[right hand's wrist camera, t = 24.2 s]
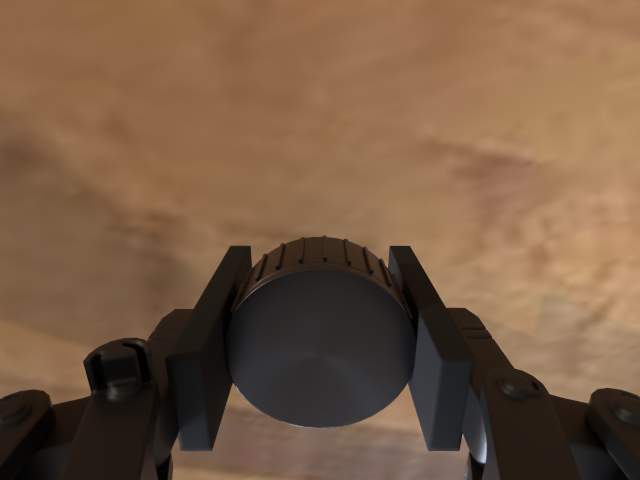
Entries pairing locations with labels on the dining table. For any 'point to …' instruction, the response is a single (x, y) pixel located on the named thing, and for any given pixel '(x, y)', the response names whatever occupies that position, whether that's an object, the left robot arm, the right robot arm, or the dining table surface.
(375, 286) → the lid
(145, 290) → the dining table surface
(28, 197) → the dining table surface
